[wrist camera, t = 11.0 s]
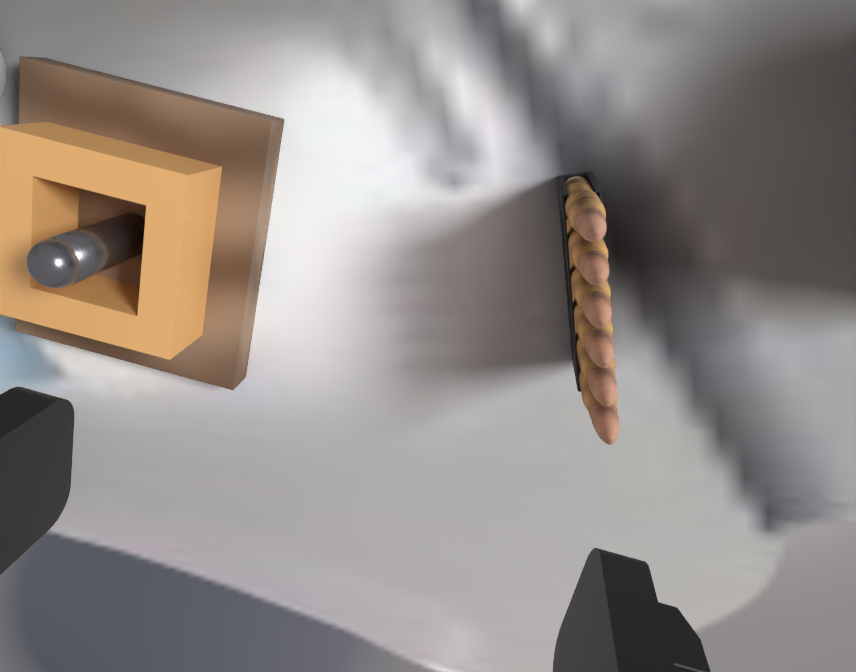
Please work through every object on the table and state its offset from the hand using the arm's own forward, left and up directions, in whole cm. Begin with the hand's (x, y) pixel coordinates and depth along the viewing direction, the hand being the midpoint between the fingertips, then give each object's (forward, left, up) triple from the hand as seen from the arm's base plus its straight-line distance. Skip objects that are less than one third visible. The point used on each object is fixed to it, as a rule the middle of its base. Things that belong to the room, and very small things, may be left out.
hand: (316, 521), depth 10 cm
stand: (+6, -18, -30) cm, 36 cm away
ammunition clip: (+2, +7, -30) cm, 31 cm away
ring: (+6, -18, -28) cm, 34 cm away
